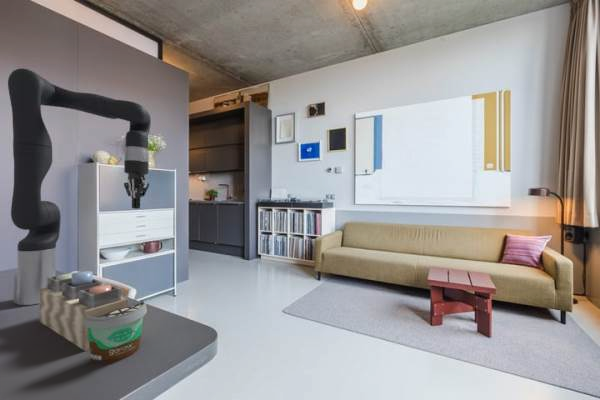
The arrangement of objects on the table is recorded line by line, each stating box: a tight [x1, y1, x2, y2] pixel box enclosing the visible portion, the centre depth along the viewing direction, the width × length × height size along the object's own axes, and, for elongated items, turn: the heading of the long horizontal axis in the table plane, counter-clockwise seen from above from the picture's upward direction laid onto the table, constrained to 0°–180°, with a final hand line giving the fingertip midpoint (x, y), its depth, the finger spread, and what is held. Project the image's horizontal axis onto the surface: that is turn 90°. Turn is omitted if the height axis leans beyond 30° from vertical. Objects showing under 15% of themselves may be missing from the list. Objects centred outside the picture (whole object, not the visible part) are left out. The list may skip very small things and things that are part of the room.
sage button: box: [55, 272, 74, 281], centre depth 78 cm, size 4×4×3 cm
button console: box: [39, 275, 129, 352], centre depth 73 cm, size 28×9×12 cm, turn 59°
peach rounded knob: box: [89, 284, 111, 294], centre depth 67 cm, size 4×4×3 cm
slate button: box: [71, 270, 94, 287], centre depth 73 cm, size 4×4×3 cm
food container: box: [84, 299, 148, 364], centre depth 60 cm, size 12×6×10 cm, turn 148°
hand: (135, 208), depth 99 cm, fingers closed
